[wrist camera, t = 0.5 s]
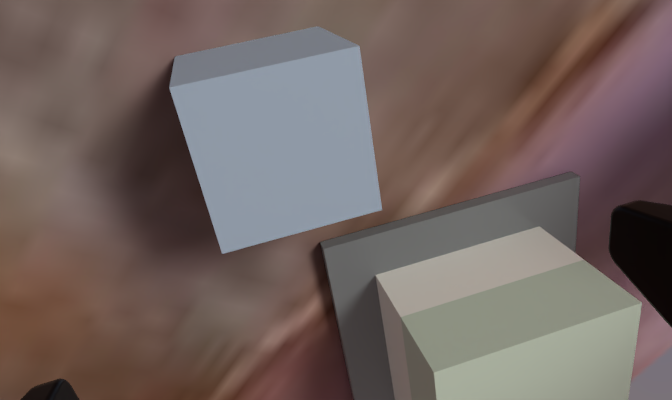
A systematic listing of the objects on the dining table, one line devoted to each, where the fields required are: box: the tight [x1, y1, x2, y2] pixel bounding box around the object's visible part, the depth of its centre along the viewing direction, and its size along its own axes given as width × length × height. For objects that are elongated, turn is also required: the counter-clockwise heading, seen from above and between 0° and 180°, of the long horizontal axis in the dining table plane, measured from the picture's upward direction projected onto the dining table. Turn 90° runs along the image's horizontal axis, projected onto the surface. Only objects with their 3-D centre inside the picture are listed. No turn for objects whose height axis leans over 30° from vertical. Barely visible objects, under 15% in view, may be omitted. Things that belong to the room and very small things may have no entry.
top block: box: [169, 26, 382, 254], centre depth 16 cm, size 5×5×5 cm
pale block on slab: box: [320, 172, 642, 400], centre depth 22 cm, size 12×12×7 cm
